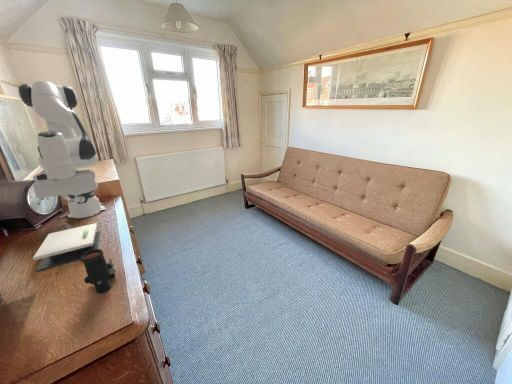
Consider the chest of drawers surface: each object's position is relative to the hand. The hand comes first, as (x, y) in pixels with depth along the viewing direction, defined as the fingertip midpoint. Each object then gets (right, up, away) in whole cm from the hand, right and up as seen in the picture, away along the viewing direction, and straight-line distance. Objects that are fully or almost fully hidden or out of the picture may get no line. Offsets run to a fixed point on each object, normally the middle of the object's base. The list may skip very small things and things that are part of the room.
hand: (73, 203), depth 93 cm
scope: (+28, -28, -20) cm, 44 cm away
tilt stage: (-2, -16, 0) cm, 16 cm away
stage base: (-1, -21, +2) cm, 21 cm away
